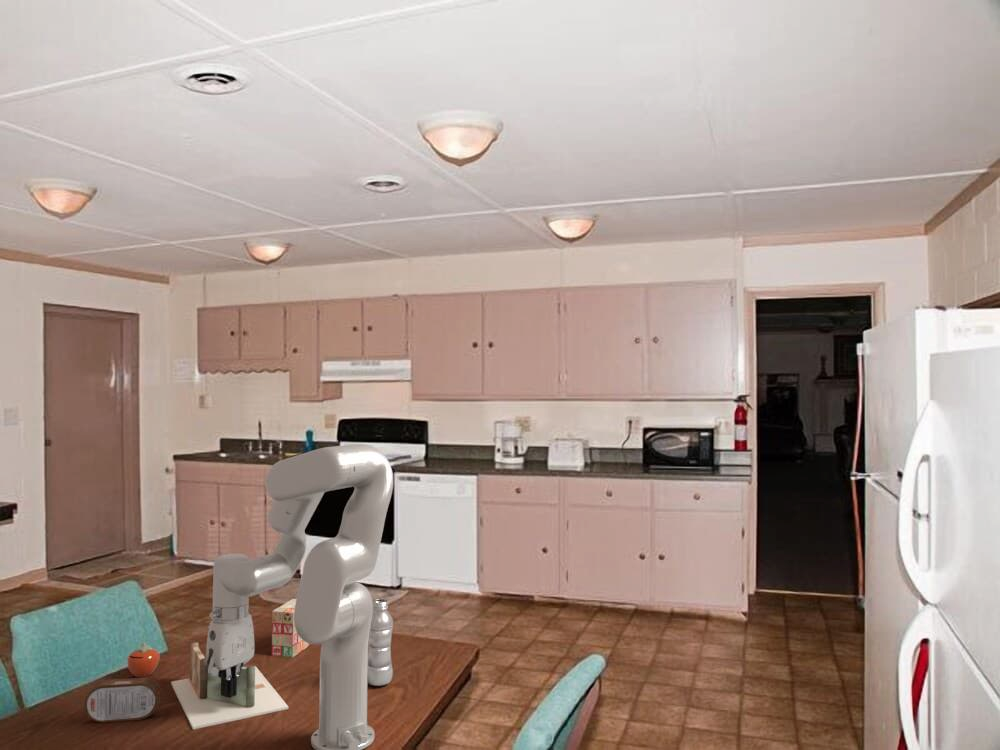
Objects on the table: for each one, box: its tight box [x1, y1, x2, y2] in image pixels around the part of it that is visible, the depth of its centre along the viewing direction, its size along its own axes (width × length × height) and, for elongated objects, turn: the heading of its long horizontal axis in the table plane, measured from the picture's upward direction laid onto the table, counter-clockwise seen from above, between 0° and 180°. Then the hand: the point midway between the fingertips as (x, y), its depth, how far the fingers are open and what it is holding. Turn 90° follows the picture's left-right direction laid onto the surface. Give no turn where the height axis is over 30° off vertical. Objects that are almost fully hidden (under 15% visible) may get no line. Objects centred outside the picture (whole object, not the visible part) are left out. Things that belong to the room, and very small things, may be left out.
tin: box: [83, 677, 163, 723], centre depth 161 cm, size 15×3×8 cm, turn 102°
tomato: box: [126, 642, 161, 678], centre depth 186 cm, size 7×7×8 cm
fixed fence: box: [189, 641, 208, 699], centre depth 177 cm, size 15×2×9 cm, turn 32°
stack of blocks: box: [271, 598, 311, 658], centre depth 210 cm, size 21×6×12 cm, turn 169°
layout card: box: [170, 665, 289, 730], centre depth 173 cm, size 29×20×1 cm
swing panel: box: [207, 665, 255, 707], centre depth 169 cm, size 12×2×8 cm, turn 69°
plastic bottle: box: [367, 598, 394, 687], centre depth 181 cm, size 6×7×20 cm
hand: (228, 695), depth 164 cm, fingers closed
